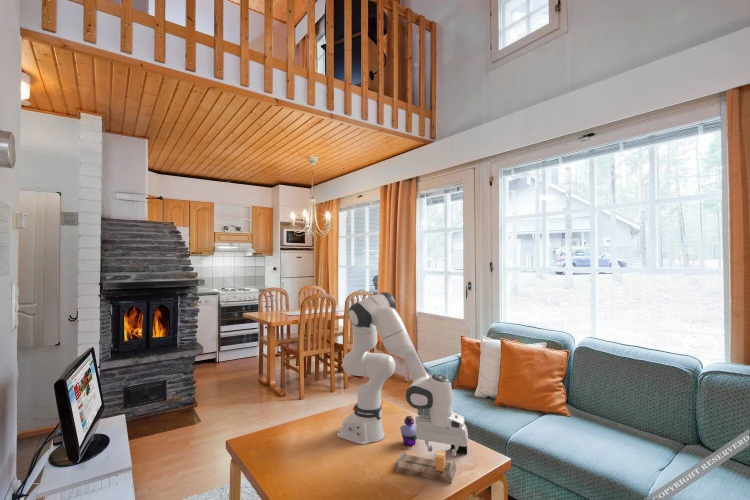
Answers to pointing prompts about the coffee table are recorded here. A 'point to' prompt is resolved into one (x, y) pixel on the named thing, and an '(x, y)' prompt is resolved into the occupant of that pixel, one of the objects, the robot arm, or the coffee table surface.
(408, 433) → the potion bottle
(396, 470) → the fader board
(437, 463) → the fader knob
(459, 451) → the battery
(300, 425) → the coffee table surface
